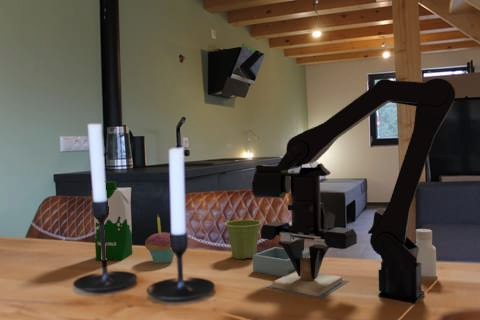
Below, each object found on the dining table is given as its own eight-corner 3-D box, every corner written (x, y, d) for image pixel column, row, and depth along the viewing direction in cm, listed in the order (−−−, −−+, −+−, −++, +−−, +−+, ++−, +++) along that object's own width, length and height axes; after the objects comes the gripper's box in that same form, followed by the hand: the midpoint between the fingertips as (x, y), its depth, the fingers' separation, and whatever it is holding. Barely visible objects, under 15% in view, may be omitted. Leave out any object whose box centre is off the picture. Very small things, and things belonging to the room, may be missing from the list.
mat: (348, 283, 88) (348, 281, 88) (321, 301, 78) (321, 299, 78) (296, 273, 95) (296, 272, 95) (265, 289, 86) (265, 287, 86)
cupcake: (173, 265, 105) (171, 216, 104) (139, 265, 106) (138, 216, 106) (183, 256, 113) (182, 210, 113) (152, 256, 115) (150, 210, 114)
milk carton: (91, 261, 111) (87, 183, 111) (106, 252, 120) (103, 180, 120) (123, 261, 110) (120, 182, 109) (137, 252, 119) (134, 179, 118)
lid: (342, 281, 88) (341, 257, 87) (318, 296, 80) (317, 269, 80) (298, 274, 94) (297, 250, 94) (272, 286, 86) (272, 261, 86)
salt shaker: (437, 278, 89) (436, 232, 89) (416, 278, 90) (415, 232, 89) (432, 273, 93) (431, 228, 93) (412, 272, 94) (411, 228, 93)
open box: (309, 269, 98) (308, 251, 98) (288, 279, 91) (287, 260, 91) (275, 263, 104) (274, 246, 104) (253, 273, 97) (252, 255, 97)
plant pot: (218, 259, 110) (217, 224, 109) (236, 250, 118) (235, 218, 118) (252, 262, 105) (251, 227, 105) (268, 253, 114) (267, 220, 113)
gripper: (367, 196, 87) (368, 274, 87) (286, 192, 98) (288, 261, 99) (343, 203, 78) (345, 290, 79) (257, 198, 89) (260, 273, 90)
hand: (307, 277), depth 87 cm, fingers closed on lid, 3 cm apart
